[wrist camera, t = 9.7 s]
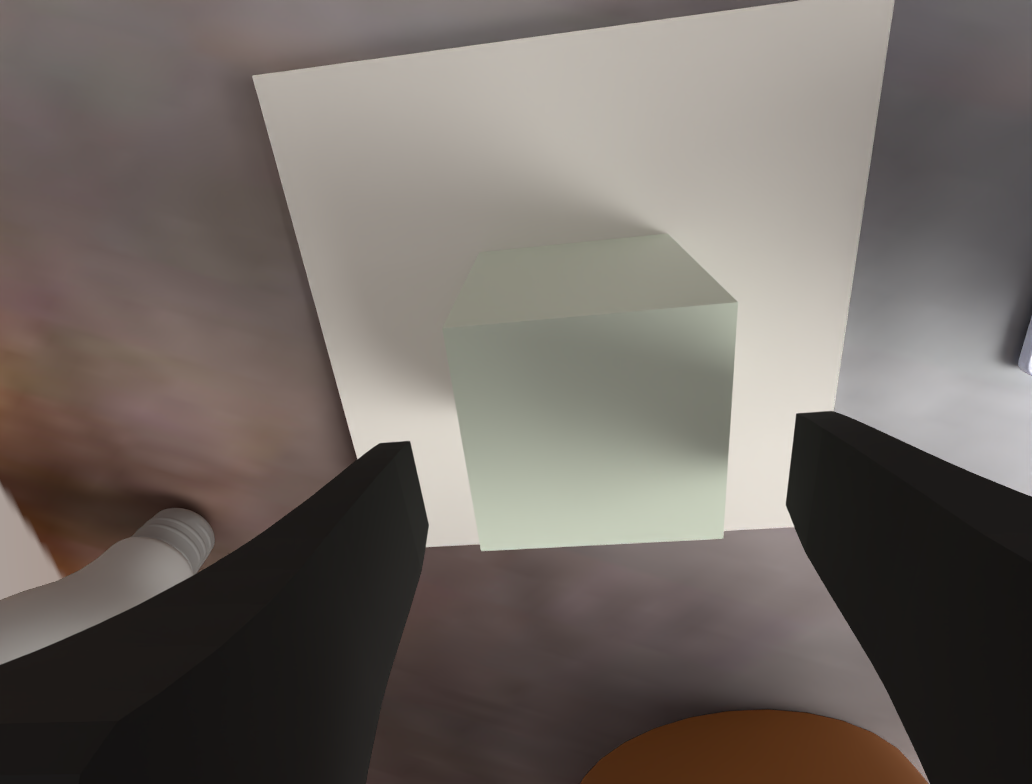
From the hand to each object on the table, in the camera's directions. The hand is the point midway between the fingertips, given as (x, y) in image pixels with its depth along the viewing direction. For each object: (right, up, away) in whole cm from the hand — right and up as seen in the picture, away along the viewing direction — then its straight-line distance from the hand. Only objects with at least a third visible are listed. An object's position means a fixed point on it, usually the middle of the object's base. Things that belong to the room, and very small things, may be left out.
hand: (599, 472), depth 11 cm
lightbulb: (-15, -4, +12) cm, 20 cm away
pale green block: (0, +3, +7) cm, 8 cm away
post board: (0, +4, +8) cm, 9 cm away
